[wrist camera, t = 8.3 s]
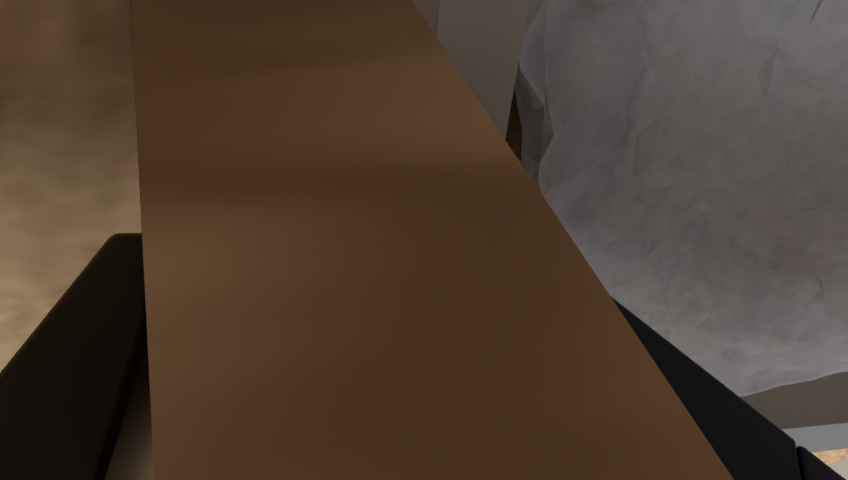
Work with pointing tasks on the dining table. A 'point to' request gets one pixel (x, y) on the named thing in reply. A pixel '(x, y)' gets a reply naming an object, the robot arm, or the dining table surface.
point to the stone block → (702, 170)
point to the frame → (809, 411)
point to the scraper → (371, 259)
